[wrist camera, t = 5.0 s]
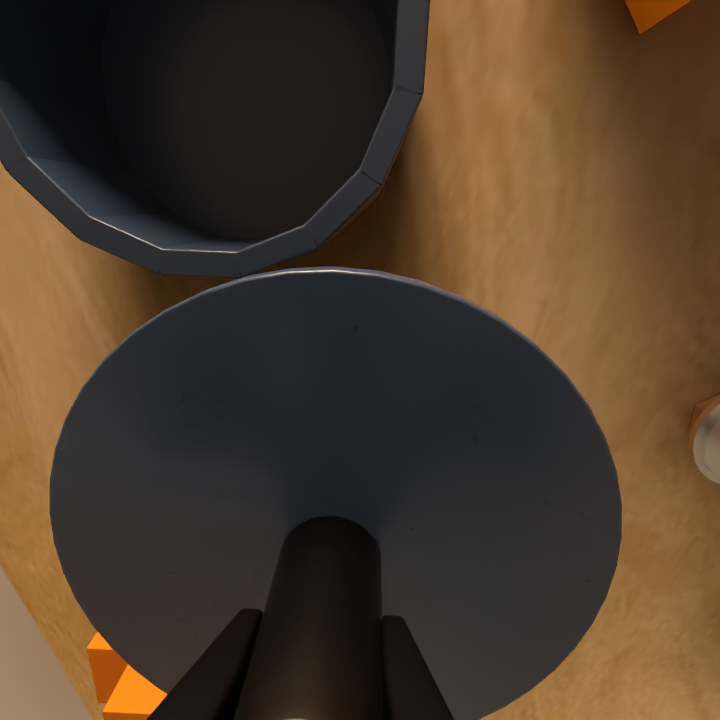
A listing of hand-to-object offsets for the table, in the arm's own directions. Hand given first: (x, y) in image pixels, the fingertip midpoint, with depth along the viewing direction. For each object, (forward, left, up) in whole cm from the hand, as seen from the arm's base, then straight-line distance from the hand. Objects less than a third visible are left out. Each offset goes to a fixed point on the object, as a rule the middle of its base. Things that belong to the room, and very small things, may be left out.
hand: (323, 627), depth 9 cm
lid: (0, 0, -3) cm, 3 cm away
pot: (-5, +12, -13) cm, 18 cm away
